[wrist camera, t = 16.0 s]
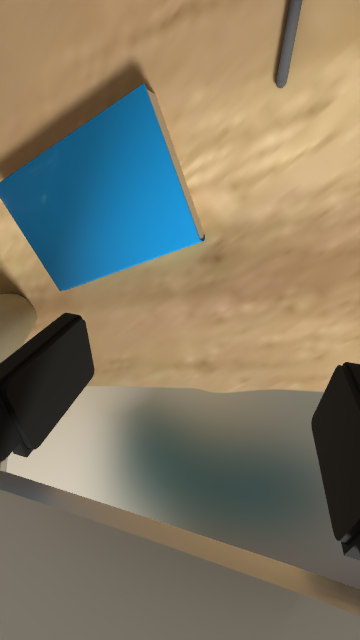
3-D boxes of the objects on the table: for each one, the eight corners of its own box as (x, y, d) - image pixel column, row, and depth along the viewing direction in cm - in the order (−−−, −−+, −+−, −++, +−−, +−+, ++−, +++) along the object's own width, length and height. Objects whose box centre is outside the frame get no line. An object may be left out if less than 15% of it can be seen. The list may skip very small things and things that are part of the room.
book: (-8, 187, 36) (140, 78, 25) (16, 185, 39) (155, 88, 29) (62, 295, 42) (202, 244, 32) (77, 285, 46) (208, 236, 35)
